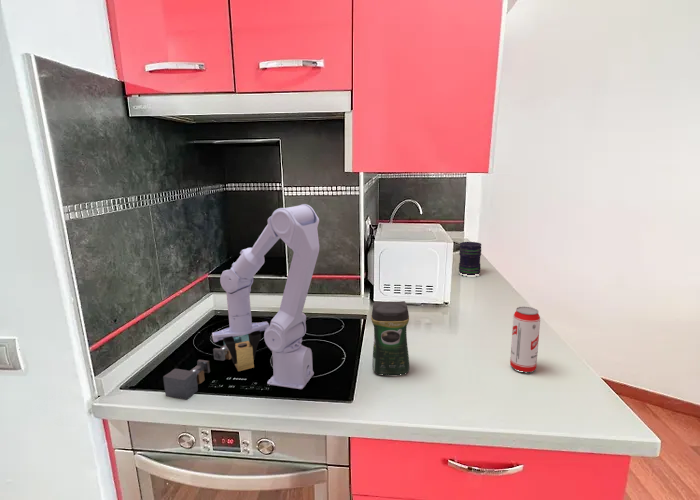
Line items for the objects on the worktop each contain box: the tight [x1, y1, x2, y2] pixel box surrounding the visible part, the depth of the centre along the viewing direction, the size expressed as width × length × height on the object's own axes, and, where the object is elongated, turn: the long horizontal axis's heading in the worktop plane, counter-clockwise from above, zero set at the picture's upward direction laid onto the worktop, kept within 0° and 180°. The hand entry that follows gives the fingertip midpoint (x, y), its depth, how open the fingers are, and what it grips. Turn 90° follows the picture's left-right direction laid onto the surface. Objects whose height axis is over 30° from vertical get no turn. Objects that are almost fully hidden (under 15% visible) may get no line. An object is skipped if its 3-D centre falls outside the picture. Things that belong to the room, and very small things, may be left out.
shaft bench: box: [162, 334, 249, 401], centre depth 106 cm, size 6×28×5 cm, turn 163°
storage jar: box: [458, 241, 482, 275], centre depth 188 cm, size 10×10×15 cm
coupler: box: [234, 341, 255, 372], centre depth 107 cm, size 4×4×6 cm
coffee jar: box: [370, 300, 410, 376], centre depth 102 cm, size 10×8×19 cm
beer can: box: [509, 306, 541, 373], centre depth 102 cm, size 6×6×16 cm
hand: (243, 360), depth 108 cm, fingers closed on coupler, 4 cm apart
